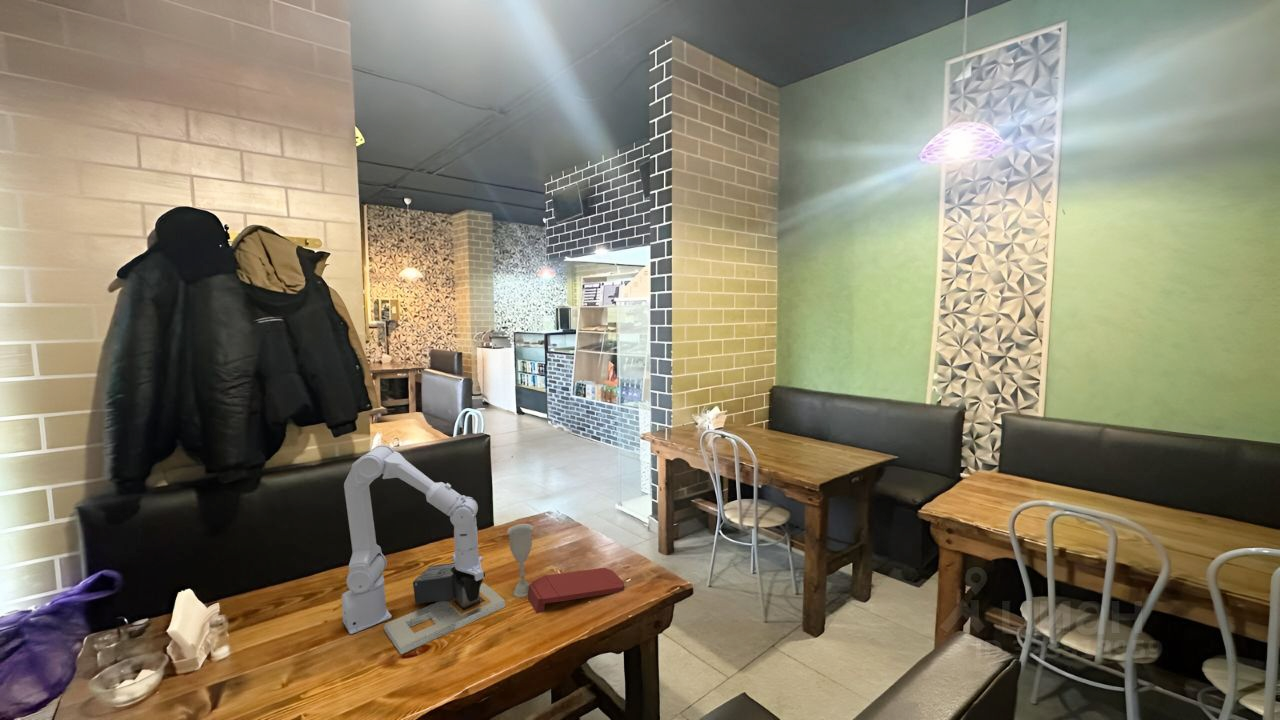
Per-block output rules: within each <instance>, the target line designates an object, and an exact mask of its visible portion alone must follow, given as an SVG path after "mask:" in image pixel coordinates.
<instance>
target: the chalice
mask: <svg viewBox="0 0 1280 720" xmlns="http://www.w3.org/2000/svg"><path fill="white" fill-rule="evenodd" d="M533 529H534V526H533V525H532V524H530V523H518V524H515V525H513V526H510V527H509V528H508V529H507V533H508V535H509V550H510V551H511V553H512V556H513V558H514V559H515V561H516V562H517V563H518V564H519V569H518V570H519V572H520V574H519V575H518V576H519V577H520V581H519V582H517V584H516V585H515V588H514V591H513V595H514V596H515V597H516V598H523V597H528V589H529V584H530V583H529V582H528V581H526V580H525V577H526V573H525V572H524V571H525V569H526V568H525V565H524V564H525V562H526V561H527V560H528V557H529V556H530V553H531V550H532V546H533V543H532V541H533V538H532V532H533Z"/></svg>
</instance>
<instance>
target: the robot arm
mask: <svg viewBox="0 0 1280 720" xmlns="http://www.w3.org/2000/svg"><path fill="white" fill-rule="evenodd" d="M381 475H383V476H382V479H383V480H386V479H395V478H397V479H399V480H401V481H402V482H403V481H404V483H407V484H408V485H409V486H411V487H414V489H416V490H418V491H420V492H421V493H423V494H424V495H425V498H426V502H427V503H429V505H432V506H433V507H434V508H436V509H438V510H439V511H441V512H442V513H443V514H445V515H446V516H448V517H449V520H450V522H451V524H452V525H453V528H454V529H453V538H454V539H453V540H454V553H453V554H452V555H451V556H452V563H455V567H452V568H451V571H452V572H453V574H454V576H455V578H456V580H459V579H462V581H463V582H464V584H465V587H466V590H467V596H468V599H469V601H470V602H472V601H474V600H476V599H478V595H479V590H480V586H481V584H483V583H482V582H483V581H484V579H485V577H486V572H485V571H484V570H483V569H482V565H481V562H483V561H484V557H482V556H481V555H479V540H478V539H479V538H478V526H477V517H476V516H477V513H478V510H479V505H478V502H477V501H476V500H475V499H474V498H473V497H471V496H466V495H464V494H463V495H462V494H460V493H459V492H457V491H456V490H455V489H453V488H452V485H451V484H450V483H449V482H446V483H444V482H442V481H440V482H435V481H433V480H432V479H430V478H429V477H428V476H427V475H425V474H424V473H423V472H422V471H421V470H419V469H418V468H416V467H415V466H414V465H413V464H412V463H410V462H409V461H408V460H406V458H405V457H404V456H403V455H402V454H401V453H400V452H398V451H394V450H393V448H392V447H390V446H388V445H383V444H380V445H377V446H375V447H374V448H372V449H371V450H370V451H369V452H367V453H366V454H364V455H362V456H361V457H359V458H358V459H356V461H354V462H353V463H352V464H351V469H350V470H349V473H348V475H347V477H346V479H345V481H344V482H343V483H344V484H343V488H344V497H345V502H346V511H347V521H348V526H349V528H348V529H349V533H350V534H349V535H350V542H351V549H352V553H351V557H350V559H349V560H350V561H349V564H348V575H347V576H346V580H345V581H346V586H347V588H348V589H349V590H347V591H345V592H343V593H342V594H341V608H342V609H341V610H342V623H343V624H344V626H345V628H346V630H347V632H348V633H349V634H350V635H353V634H355V633H358V632H360V631H363V630H366V629H369V628H370V627H373V626H375V625H378V624H380V623H381V624H382V623H383V622H386V621H387V620H390V619H392V614H391V613H390V611H389V610H388V609H387V604H386V603H387V602H386V587H385V577H384V576H383V575H384V574H383V572H384V571H385V569H387V558H386V556H385V555H384V553H382V548H381V546H380V545H378V544H377V538H376V530H375V522H374V515H373V514H374V513H373V507H372V498H371V491H370V485H371V484H372V482H374V481H375V480H376V479H377V478H379V477H380V476H381Z"/></svg>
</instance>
